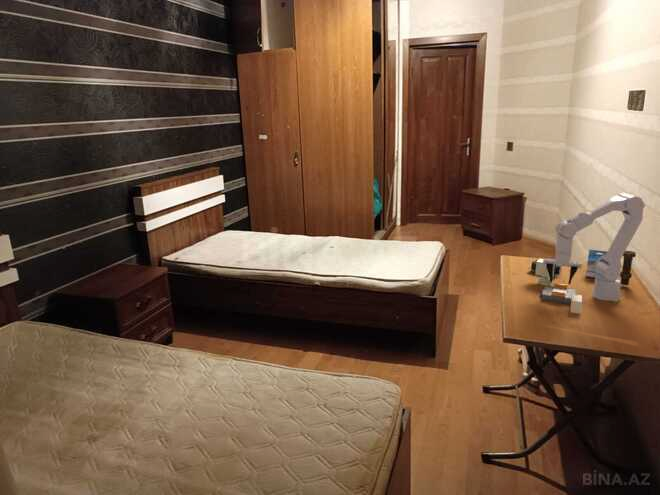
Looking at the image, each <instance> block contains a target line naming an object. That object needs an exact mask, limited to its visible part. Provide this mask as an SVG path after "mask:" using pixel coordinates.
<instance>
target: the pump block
mask: <svg viewBox="0 0 660 495" xmlns="http://www.w3.org/2000/svg"><path fill="white" fill-rule="evenodd" d="M582 304H583V296H582V295H581V294H576V295H573V294H572V298H571V304H570V313H574V314H579V315H580V314H582V307H583V306H582Z"/></svg>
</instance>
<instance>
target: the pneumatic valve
mask: <svg viewBox="0 0 660 495" xmlns="http://www.w3.org/2000/svg"><path fill="white" fill-rule="evenodd" d="M543 259H544V258H537V259H536V260H535V261H532V263H531V266H530V267H531V269H530V270H531V271H532V272H533V275H535V276H540V277H538V280H537V282H538V284H539V285H541V286H545V285H546V286H550V285H552V283H553V281H552V282H550V276H549V273H548V270H547V268H546V265H547V264H543ZM562 267H563V266H558V265H554V267H553V279H555V278H556V277H557V276H560V275H561V273H562V270H563V269H562Z"/></svg>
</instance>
